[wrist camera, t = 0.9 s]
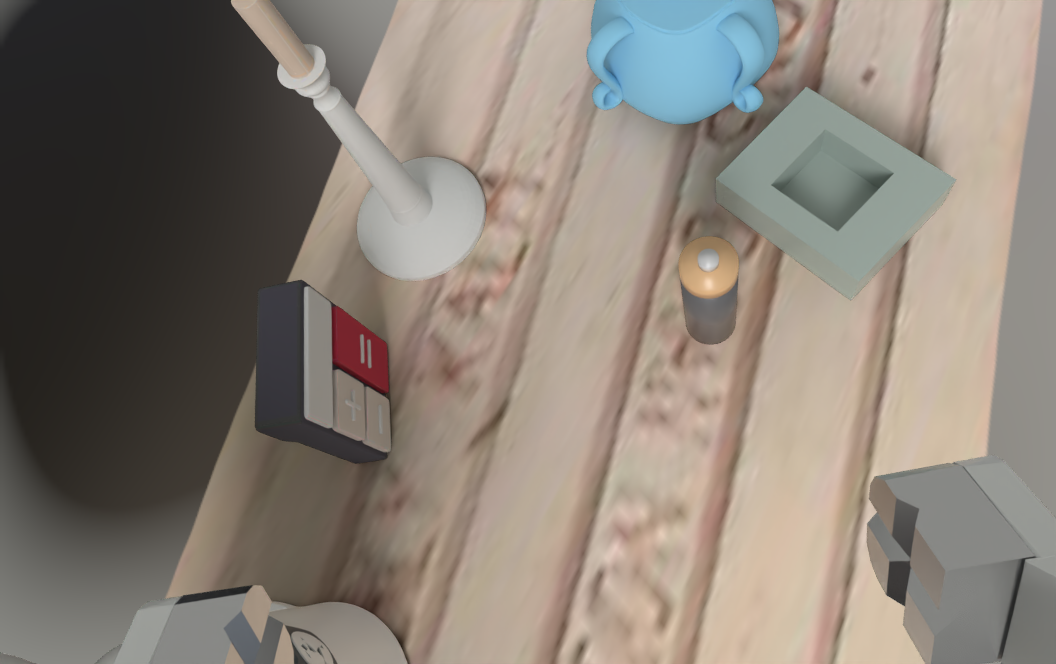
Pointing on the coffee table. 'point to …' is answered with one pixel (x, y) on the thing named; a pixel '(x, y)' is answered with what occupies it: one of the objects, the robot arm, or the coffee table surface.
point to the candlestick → (382, 169)
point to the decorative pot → (681, 55)
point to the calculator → (320, 375)
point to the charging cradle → (831, 191)
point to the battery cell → (709, 288)
